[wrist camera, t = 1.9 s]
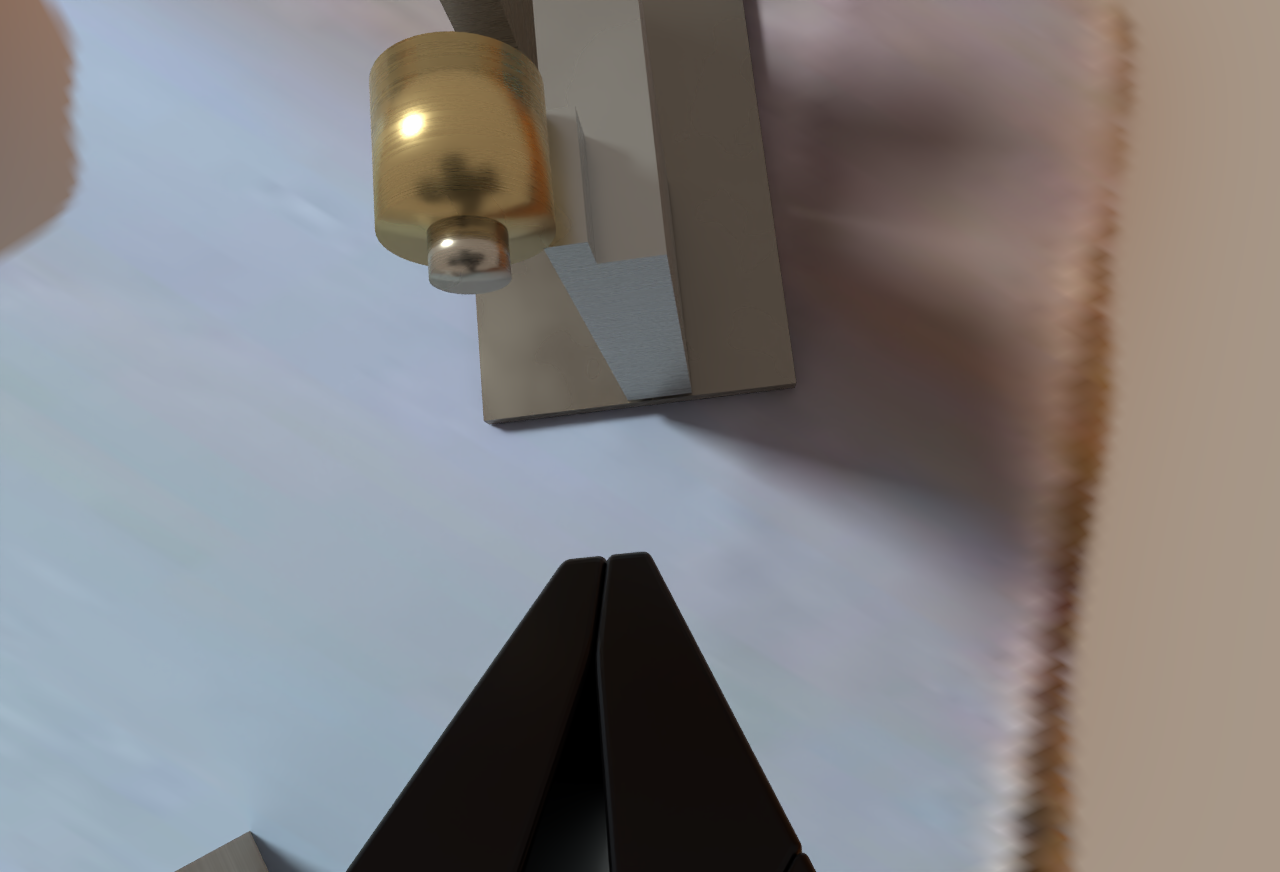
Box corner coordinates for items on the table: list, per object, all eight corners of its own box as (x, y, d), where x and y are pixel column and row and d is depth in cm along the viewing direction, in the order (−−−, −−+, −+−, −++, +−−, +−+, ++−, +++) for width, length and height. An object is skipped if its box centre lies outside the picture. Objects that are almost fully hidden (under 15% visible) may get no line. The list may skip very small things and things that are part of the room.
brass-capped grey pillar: (694, 416, 19) (655, 211, 8) (555, 432, 20) (343, 255, 9) (666, 171, 21) (600, -287, 10) (535, 190, 21) (327, -233, 10)
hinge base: (794, 387, 20) (893, 123, 8) (489, 424, 21) (182, 229, 9) (731, -68, 22) (738, -767, 11) (460, -22, 23) (190, -630, 11)
